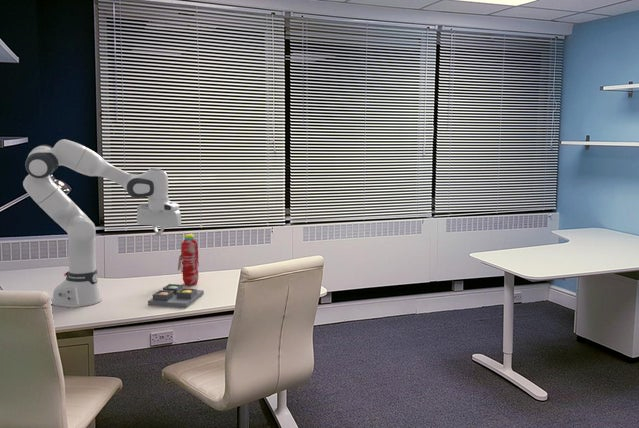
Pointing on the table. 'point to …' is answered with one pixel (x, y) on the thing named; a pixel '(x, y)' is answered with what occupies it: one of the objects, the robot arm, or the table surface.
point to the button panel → (175, 297)
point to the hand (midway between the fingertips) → (159, 235)
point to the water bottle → (189, 260)
